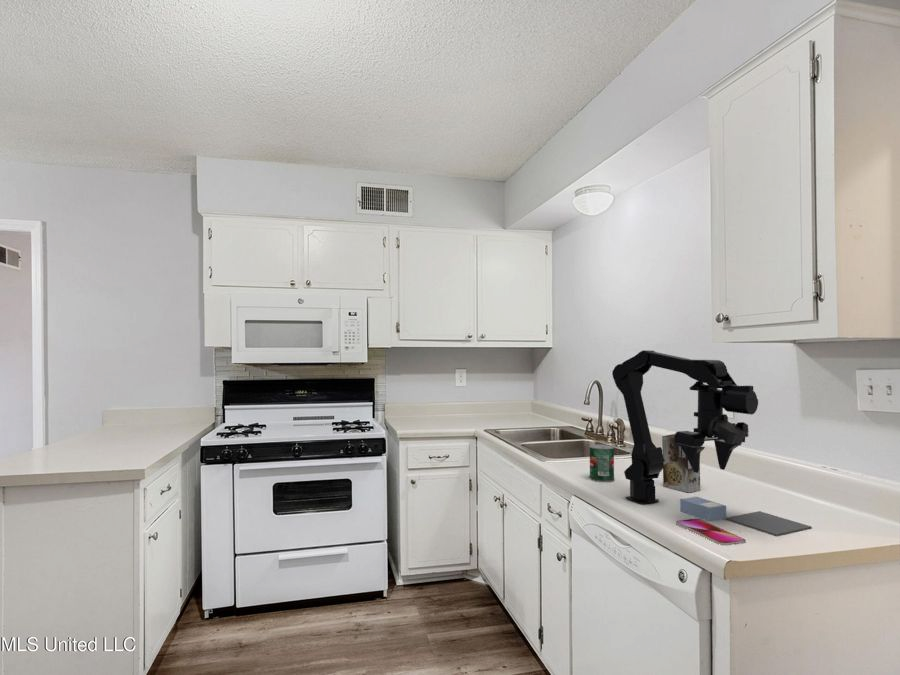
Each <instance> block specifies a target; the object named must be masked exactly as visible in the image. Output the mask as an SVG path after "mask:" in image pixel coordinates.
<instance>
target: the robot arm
mask: <svg viewBox="0 0 900 675" xmlns="http://www.w3.org/2000/svg"><path fill="white" fill-rule="evenodd" d="M652 367H656V368H661V369H665V370H669V371H674V372H678V373H682V374H684V375H686V376H687V377H689V378H690V379H693V380H695V383H693V385H692V386H690V387H689V390H690V391H695V392H696V391H697V411H694V412H693V417H697V426H696V427H693V431H689V430H680V431H676V432H675V433H673V434H674V442H675V443H678V446H681V448H682V450H683V451H684V453H685V455H686V457H687V459H688V461H689V463H690V465H691V467H692V469H693V471H694V472H695V473H698V471H699V464H700V465H701V462H700V461H701V453H702V451H703V450H705V449H706V447H705V446H703V445H704V444H705V442H712V441H713V442H714V446H715V447H714V448H715V451H716V458H717V462H718V467H719V469H720V470H725V469H726V468H727V464H728V462H729V460H730V457H731V455H732V453H733V451H734V450H735V449H736V448H738V447H740V446H741V445H742V443H746V438H748V437H749V424H748V423H746V422H744V421H743V422H740V421H739V422H736V423H735V422H733V423H732V422H730V421H729V417H728V414H726V413H724V411H725V412H728V413H737V414H743V415H744V414H746V415H751V416H752V415H755V413H756V412H757V410H758V406H759V399H758V396H757V394H756V392H755V390H754V386H753V385H738V384H737V383H736V382H735V380H734V379H733V378H732V376H731V374H730V373H729V371H728V369H727V366H726V364H725V363H724V362H723V361H721V360H718V359H690V358H686V357H681V356H677V355H672V354H668V353H667V354H666V353H661V352H658V351H655V350H640V352H637V354H635V355H633V356H632V357H630V358H628V359H627V360H624V361H623V362H622V363H619V364H617V365H615V366H614V368H613V370H612V374H611V375H612V378H613V381H614V384H615V387H616V388H617V389H618V390H619V392H620V393H621V394H622V396H623V401H624V404H625V408H626V412H627V418H628V421H629V422H628V423H629V427H630V432H631V436H632V440H633V446H632V451H631V457H630V458H631V464H630V465H629V466H628V467H627V468H626V469H625V470H624V471H623V474H624V476H625V479H626V480H628V481H629V496H625V499H627V500H629V501H632V502H635V503H638V504H639V505H646V504H652V503H658V502H660V500H659V499H658V498H656V486H655V479H659V476H660V473H661V472H663V468H664V462H665V460H664V458H663V452H662V447H661V446H659V447H657V446H656V445H655V443H653V441H652V440H653V439H652V436H651V431H650V428H649V422H648V418H647V414H646V410H645V406H644V402H643V396H642V389H643V385H644V377H643V376H644V375H646V374H647V373H648V372H649V371H650V370H651V368H652Z"/></svg>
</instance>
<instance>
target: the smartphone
mask: <svg viewBox="0 0 900 675" xmlns="http://www.w3.org/2000/svg"><path fill="white" fill-rule="evenodd" d="M677 525H678V526H677ZM675 526H677V527H680V528H682V527H683V528H682V529H684V528H685V529H684V530H686V529H688V530H689V531H688V530H687V531H688V532H690V531H692V532H691V533H693V532H694V533H693V534H695V533H696V534H695V535H697V534H698V536H699V535H700V536H699V537H701V536H702V537H701V538H703V537H705V538H704V539H706V538H707V539H706V540H708V539H709V540H708V541H710V540H711V541H710V542H712V541H713V543H714V542H715V543H714V544H716V543H717V545H719V544H720V545H721V546H724V545H726V546H733V545H732V544H734V545H735V543H736V545H740V544H739V543H741V544H746V543H747V540H746V539H745V538H743V537H742V536H739V535H736V534H734V533H731V532H729V531H728V530H725V529H723V528H721V527H718V526H716V525H714V524H711V523H710V522H708V521H706V520H703V519H701V518H689V519H681V520H680V519H679V520H676V521H675Z"/></svg>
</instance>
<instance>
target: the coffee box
mask: <svg viewBox="0 0 900 675" xmlns="http://www.w3.org/2000/svg"><path fill="white" fill-rule="evenodd" d="M674 434H675V433H673V434H666V435H662V436H661V443H662V444H661V446H662V447H661V448H662V454H663V458H664V460H665V462H664V468H663V469H662V479H663V480H662V481H663V482H662V483H663V486H662V487H664V488H668V489H671V490H675V491H676V490H677V491H681V492H685V493H693V492H698V491H701V463H700V464H699V471H698V473H695V472H694V471H693V469H692V467H691V465H690V463H689V461H688V459H687V457H686V455H685V453H684V451H683V450H682V448H681V446H678V443H675V442H674Z"/></svg>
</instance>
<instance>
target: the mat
mask: <svg viewBox="0 0 900 675" xmlns="http://www.w3.org/2000/svg"><path fill="white" fill-rule="evenodd" d="M724 520H727V521H729V522H733V523H736V524H739V525H742V526H744V527H748V528H751V529H754V530H757V531H760V532H763V533H766V534H768V535H772V536H774V537H779V536H784V535H788V534H792V533H796V532H800V531H806V530H809V529H812V528H813V527H812V526H811V525H807V524H804V523H801V522H798V521H794V520H790V519H788V518H785V517H784V518H783V517H782V516H781V517H780V516H778V515H774V514H772V513H768V512H765V511H764V512H763V511H761V510H760V511H753V512H748V513H743V514H738V515H732V516H726V518H725V519H724Z"/></svg>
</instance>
